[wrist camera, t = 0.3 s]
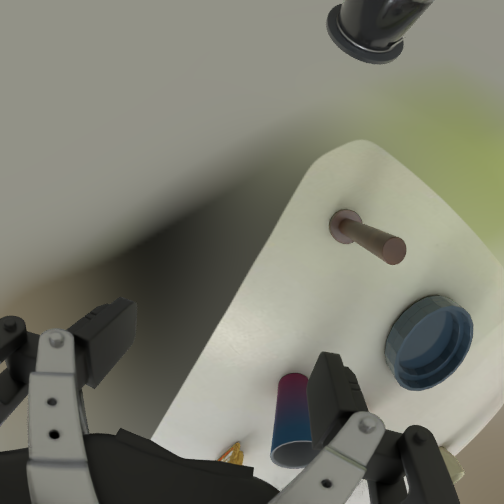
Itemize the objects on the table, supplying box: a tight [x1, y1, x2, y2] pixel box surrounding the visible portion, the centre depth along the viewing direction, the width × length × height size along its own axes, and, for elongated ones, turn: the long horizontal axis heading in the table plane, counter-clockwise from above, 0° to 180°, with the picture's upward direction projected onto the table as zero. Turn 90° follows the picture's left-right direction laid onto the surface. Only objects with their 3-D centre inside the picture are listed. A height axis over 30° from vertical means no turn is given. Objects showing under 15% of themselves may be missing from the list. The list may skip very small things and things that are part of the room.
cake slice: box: [217, 442, 244, 465], centre depth 42 cm, size 4×12×7 cm, turn 151°
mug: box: [439, 447, 465, 484], centre depth 38 cm, size 11×10×12 cm
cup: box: [270, 373, 321, 469], centre depth 33 cm, size 7×7×15 cm
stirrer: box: [329, 209, 406, 265], centre depth 27 cm, size 4×4×16 cm
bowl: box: [385, 295, 473, 391], centre depth 35 cm, size 15×15×5 cm
